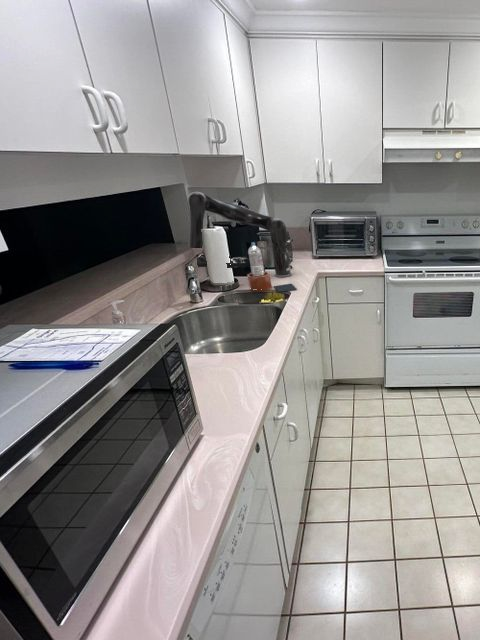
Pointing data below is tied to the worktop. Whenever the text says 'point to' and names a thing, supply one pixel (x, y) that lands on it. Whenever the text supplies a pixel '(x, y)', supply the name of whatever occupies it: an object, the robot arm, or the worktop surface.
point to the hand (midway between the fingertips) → (247, 262)
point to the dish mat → (285, 288)
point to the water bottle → (256, 261)
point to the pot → (259, 282)
